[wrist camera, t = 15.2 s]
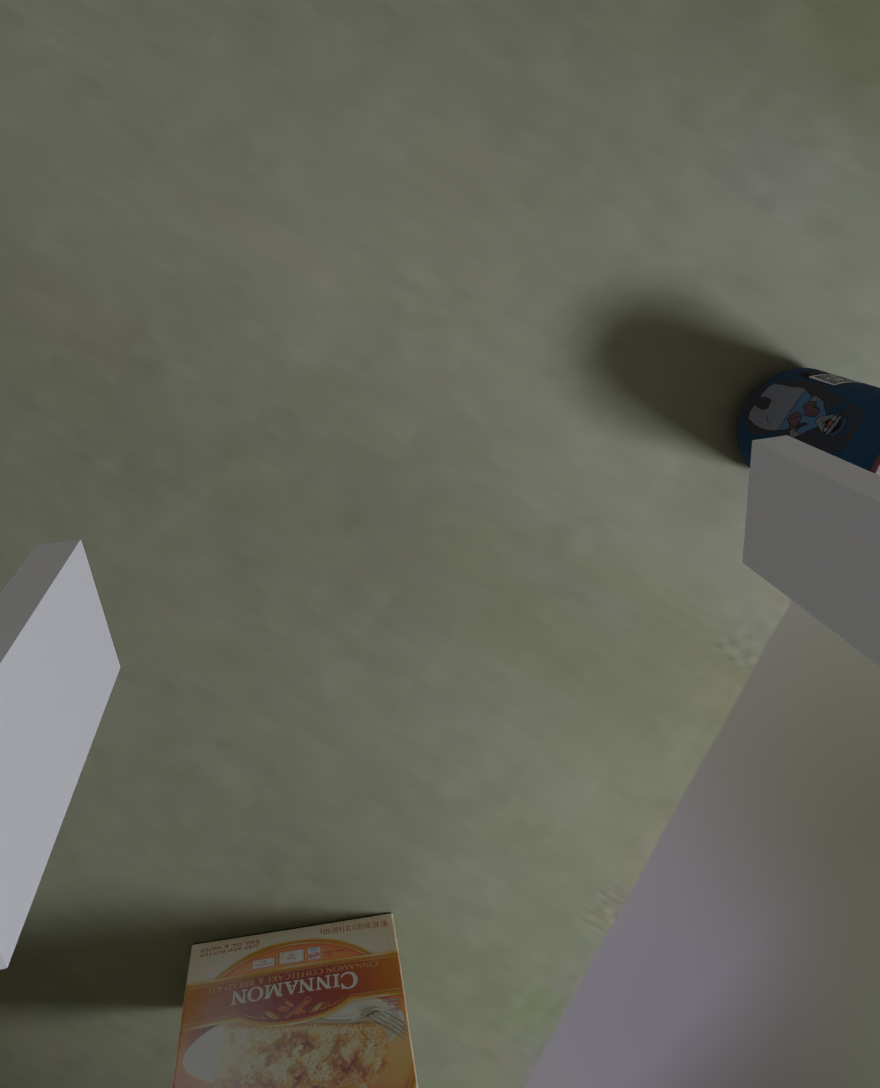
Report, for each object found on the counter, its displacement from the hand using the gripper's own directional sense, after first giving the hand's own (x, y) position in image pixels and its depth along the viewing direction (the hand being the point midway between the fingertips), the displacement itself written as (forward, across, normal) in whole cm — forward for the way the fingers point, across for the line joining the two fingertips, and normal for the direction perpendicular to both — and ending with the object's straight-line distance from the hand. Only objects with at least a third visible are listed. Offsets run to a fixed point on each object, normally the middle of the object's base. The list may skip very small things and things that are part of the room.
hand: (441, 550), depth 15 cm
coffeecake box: (+29, -10, -45) cm, 54 cm away
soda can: (+29, +26, -8) cm, 40 cm away
